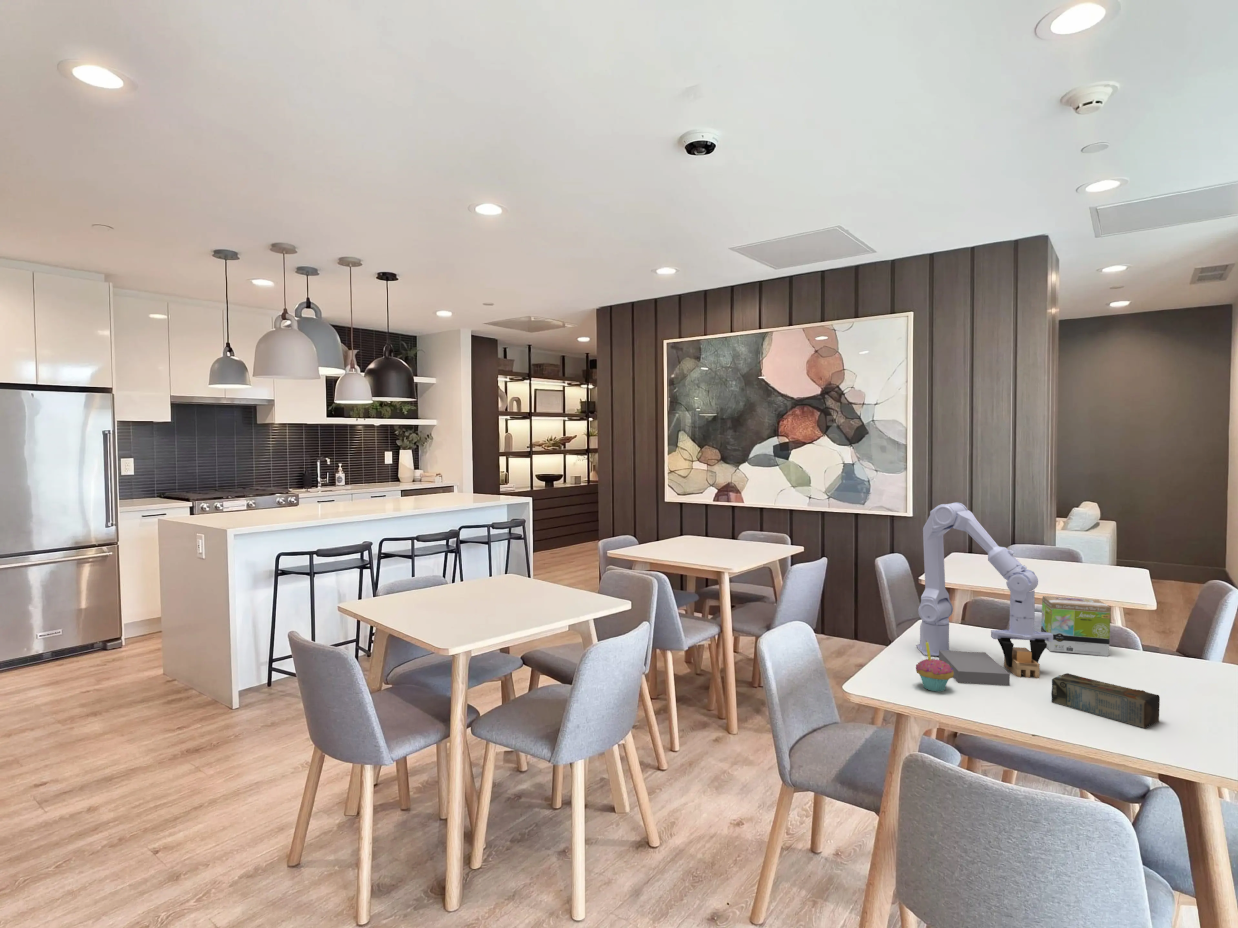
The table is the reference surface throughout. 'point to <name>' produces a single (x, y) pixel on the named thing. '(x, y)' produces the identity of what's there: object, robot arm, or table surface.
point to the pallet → (1024, 668)
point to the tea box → (1076, 625)
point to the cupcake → (934, 672)
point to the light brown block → (1022, 655)
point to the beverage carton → (1106, 700)
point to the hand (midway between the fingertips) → (1021, 666)
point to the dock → (975, 668)
